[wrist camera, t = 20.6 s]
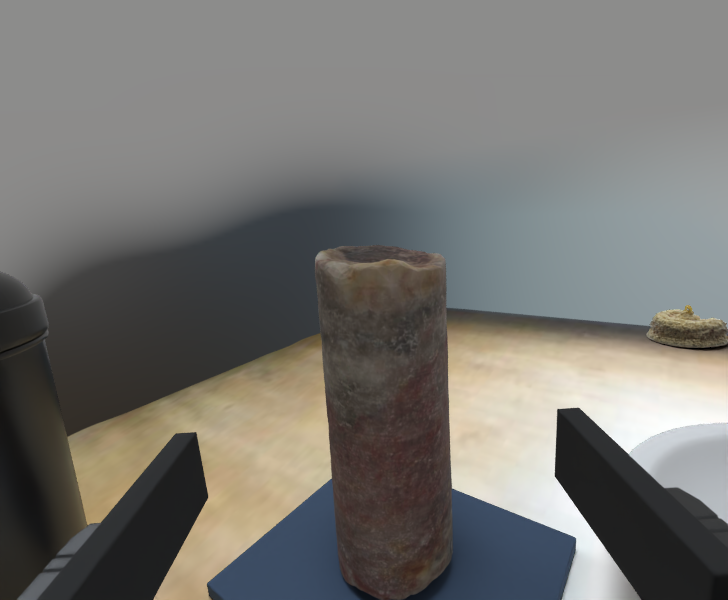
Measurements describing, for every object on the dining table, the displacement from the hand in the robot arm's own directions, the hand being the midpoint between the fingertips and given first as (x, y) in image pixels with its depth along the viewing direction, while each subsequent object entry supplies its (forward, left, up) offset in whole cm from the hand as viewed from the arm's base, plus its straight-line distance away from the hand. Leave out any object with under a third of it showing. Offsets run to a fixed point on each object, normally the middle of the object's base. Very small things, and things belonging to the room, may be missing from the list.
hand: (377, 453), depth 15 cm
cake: (+10, +65, -15) cm, 67 cm away
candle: (-5, +7, -14) cm, 16 cm away
